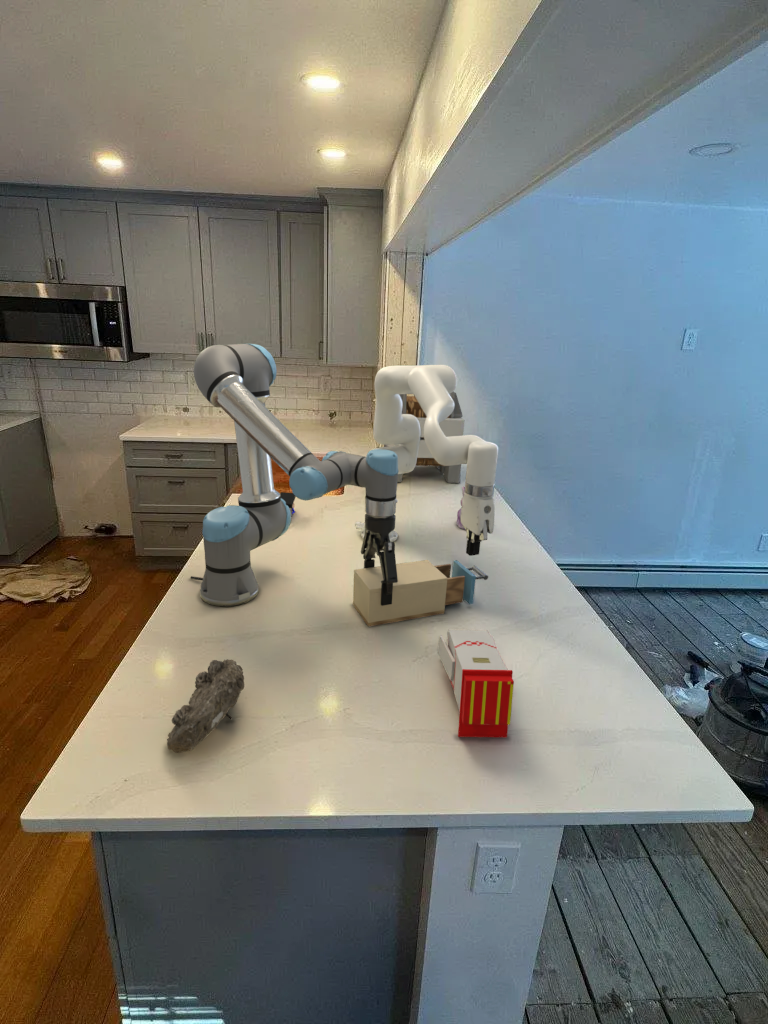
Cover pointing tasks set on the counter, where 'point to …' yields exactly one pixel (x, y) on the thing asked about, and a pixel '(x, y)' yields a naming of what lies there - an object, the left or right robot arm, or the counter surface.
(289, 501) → the figurine character
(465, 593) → the drawer
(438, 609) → the tan storage bin
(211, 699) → the fossil
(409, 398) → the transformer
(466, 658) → the toy
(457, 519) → the figurine
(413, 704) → the counter surface
